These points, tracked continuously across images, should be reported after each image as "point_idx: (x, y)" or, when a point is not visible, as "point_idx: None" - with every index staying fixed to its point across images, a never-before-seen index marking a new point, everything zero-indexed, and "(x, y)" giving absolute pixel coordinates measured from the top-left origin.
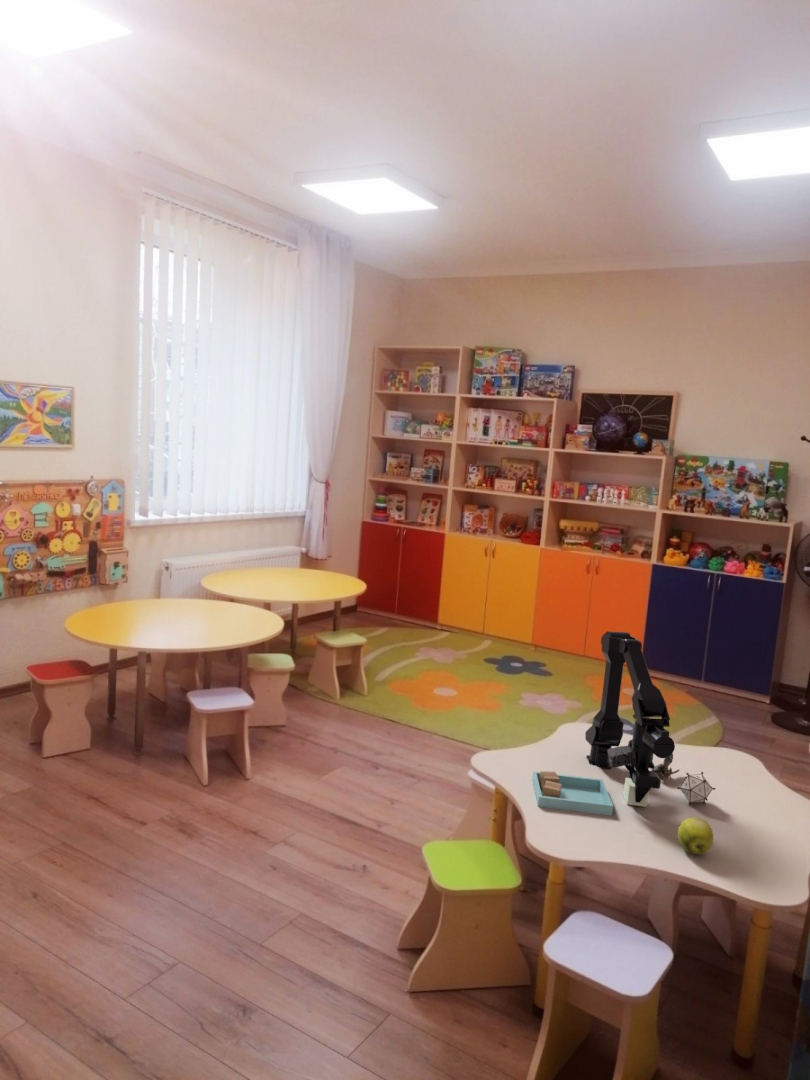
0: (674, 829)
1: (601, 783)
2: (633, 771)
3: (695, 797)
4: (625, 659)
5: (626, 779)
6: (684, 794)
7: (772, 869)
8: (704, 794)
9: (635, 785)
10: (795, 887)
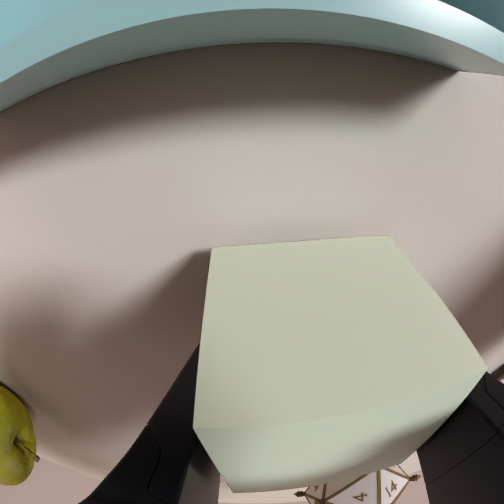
0: (90, 401)
1: (469, 18)
2: (487, 469)
3: None
4: None
5: (447, 384)
6: None
7: (73, 463)
8: (310, 502)
9: (140, 493)
10: (47, 459)
